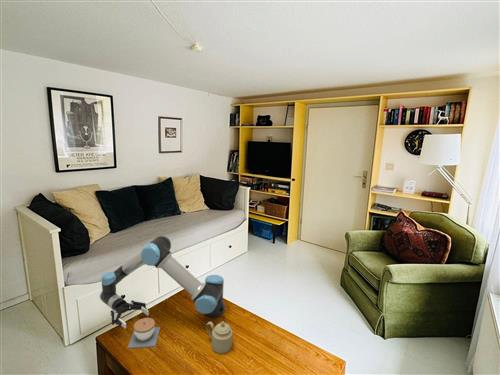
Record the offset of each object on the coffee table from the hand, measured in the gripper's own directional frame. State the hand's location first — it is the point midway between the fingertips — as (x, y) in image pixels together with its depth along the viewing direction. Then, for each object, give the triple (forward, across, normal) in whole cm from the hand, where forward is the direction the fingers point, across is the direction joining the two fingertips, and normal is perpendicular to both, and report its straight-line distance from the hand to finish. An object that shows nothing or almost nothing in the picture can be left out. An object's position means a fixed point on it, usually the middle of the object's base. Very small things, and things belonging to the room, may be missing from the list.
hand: (137, 319), depth 146 cm
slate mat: (+7, 0, -8) cm, 10 cm away
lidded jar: (+6, 0, -8) cm, 10 cm away
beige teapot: (+41, -22, -8) cm, 48 cm away
